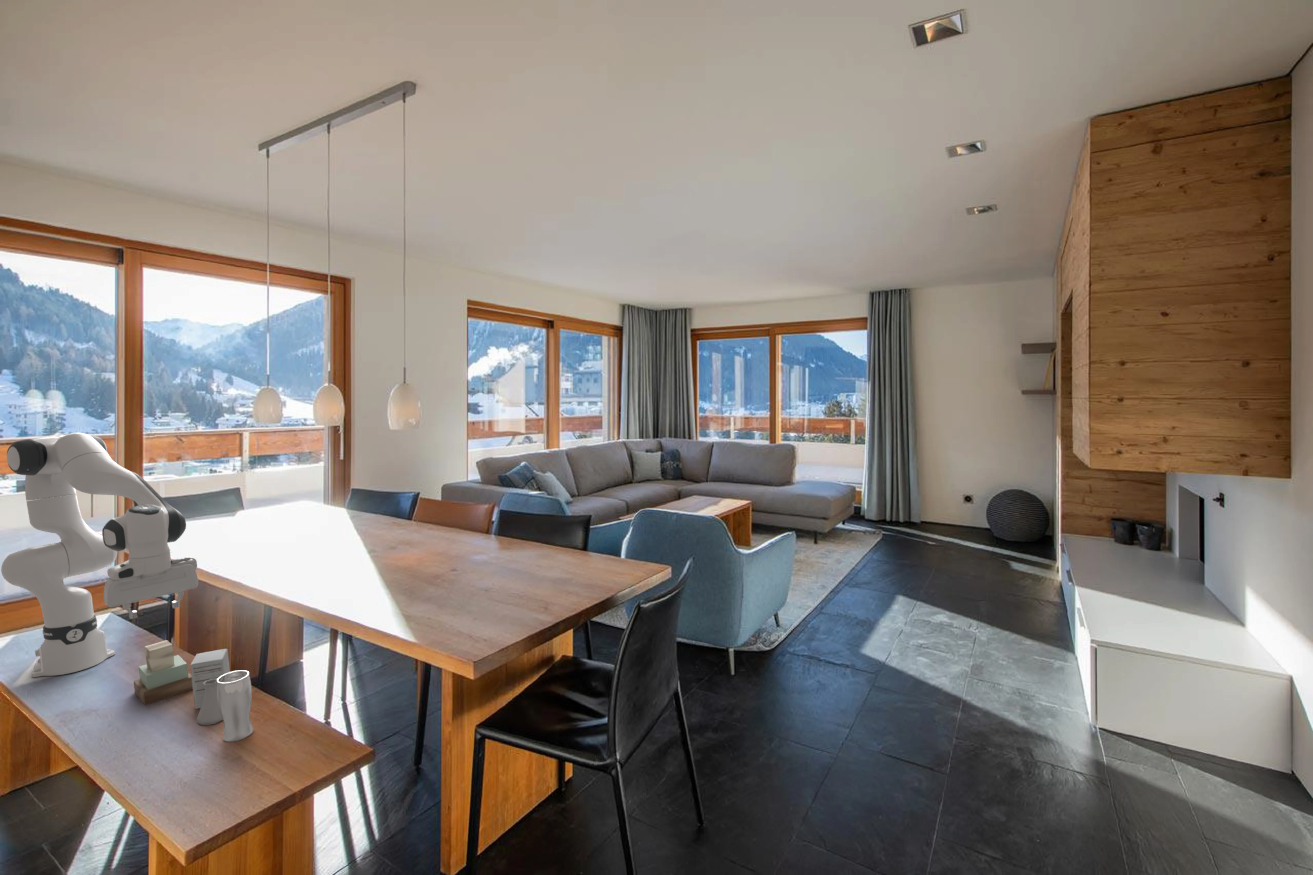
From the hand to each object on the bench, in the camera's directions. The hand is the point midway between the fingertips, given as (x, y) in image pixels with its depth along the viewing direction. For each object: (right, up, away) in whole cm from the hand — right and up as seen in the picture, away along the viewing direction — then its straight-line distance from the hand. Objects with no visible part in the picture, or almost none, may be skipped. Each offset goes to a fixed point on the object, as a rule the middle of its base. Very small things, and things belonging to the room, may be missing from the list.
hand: (155, 612), depth 170 cm
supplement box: (+18, -23, -3) cm, 30 cm away
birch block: (0, -16, +2) cm, 16 cm away
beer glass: (+37, -25, -20) cm, 48 cm away
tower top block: (0, -19, +3) cm, 20 cm away
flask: (+25, -24, -12) cm, 37 cm away
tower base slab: (0, -23, +3) cm, 24 cm away
